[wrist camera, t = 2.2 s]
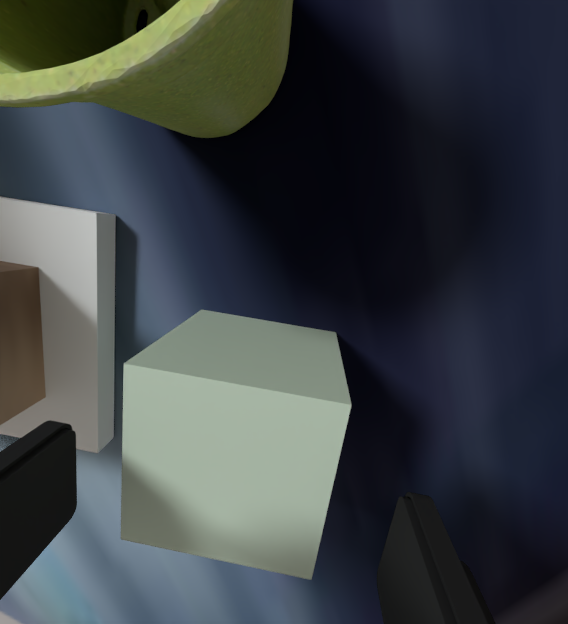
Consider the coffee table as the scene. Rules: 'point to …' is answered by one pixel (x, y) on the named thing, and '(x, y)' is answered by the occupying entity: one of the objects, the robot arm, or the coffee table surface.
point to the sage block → (233, 441)
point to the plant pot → (148, 58)
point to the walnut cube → (20, 340)
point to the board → (68, 314)
